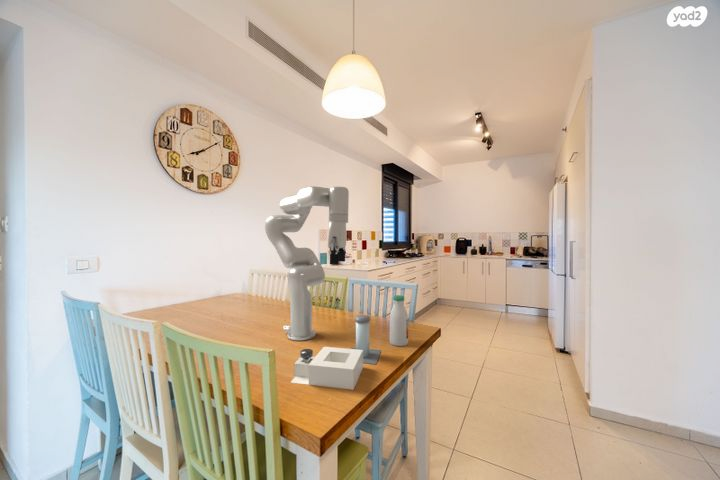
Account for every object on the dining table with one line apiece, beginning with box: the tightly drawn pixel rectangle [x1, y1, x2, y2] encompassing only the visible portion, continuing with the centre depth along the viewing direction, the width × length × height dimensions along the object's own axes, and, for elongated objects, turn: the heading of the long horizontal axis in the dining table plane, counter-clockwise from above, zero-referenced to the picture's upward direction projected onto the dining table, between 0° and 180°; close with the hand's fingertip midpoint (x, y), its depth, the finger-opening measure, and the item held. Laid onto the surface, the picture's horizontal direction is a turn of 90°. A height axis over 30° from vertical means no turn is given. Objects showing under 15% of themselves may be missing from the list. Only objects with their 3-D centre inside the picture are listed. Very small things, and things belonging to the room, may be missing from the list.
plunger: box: [299, 348, 314, 363], centre depth 94 cm, size 4×4×6 cm
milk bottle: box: [389, 294, 409, 347], centre depth 121 cm, size 8×8×20 cm
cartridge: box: [354, 314, 371, 358], centre depth 107 cm, size 6×6×14 cm
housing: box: [289, 346, 364, 391], centre depth 93 cm, size 20×14×7 cm
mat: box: [349, 347, 382, 366], centre depth 107 cm, size 12×12×1 cm
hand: (337, 262), depth 113 cm, fingers open, 9 cm apart
